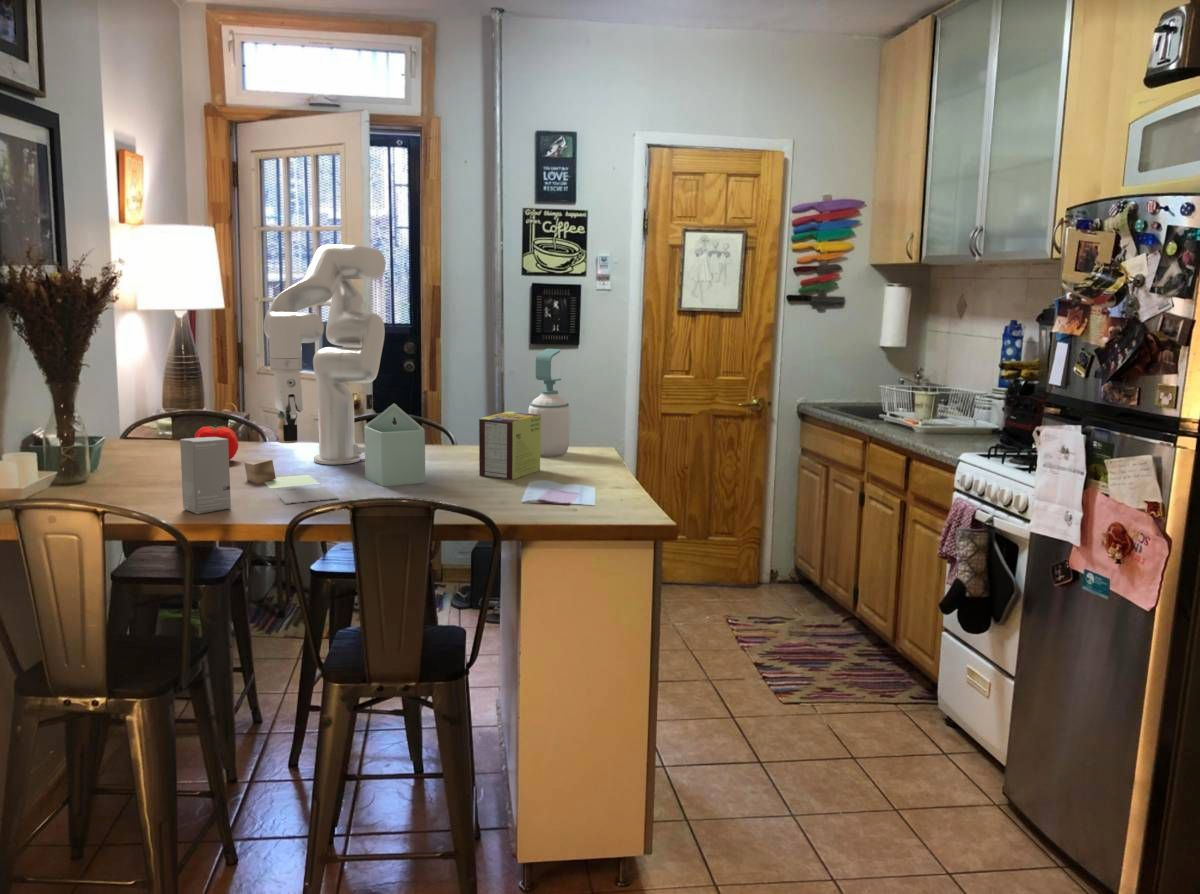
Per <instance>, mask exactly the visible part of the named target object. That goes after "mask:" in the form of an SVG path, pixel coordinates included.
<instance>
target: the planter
mask: <svg viewBox="0 0 1200 894" xmlns="http://www.w3.org/2000/svg"><path fill="white" fill-rule="evenodd" d="M394 421H395V422H396V424H394V423H393V422H394ZM364 446H365V453H364V469H365V470H364V473H365V474H364V475H365V476H364V477H365V479H366V480H368V481H370V482H372V483H375V484H376V485H378V486H380V487H393V486H394V487H395V486H405V485H412V484H413V485H414V484H425V483H426V431H425V428H424V427H423V426H422V425H420V424H419V423H418V422H417V421H416V420H415V419H414V418H412V416H410V415H408V414H407V413H406V412H405V411H404V410H403V409H402V408H400V407H399V406H398V405H397V404H396V403H392V404H391V405H390V406H388V407H387V408H386V409H384V410H383V412H381V413H380V414H378V415H377V416H375V418H373V419H372V420H370V421H369V422H367V423H366V424H365V425H364Z"/></svg>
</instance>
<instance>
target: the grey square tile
mask: <svg viewBox="0 0 1200 894" xmlns="http://www.w3.org/2000/svg"><path fill="white" fill-rule="evenodd" d="M274 494H275V495H276V496H277V497H278V498H280V499H281V500H282V501H283V502H284V503H285V504H286V505H292V504H291V503H296V504H303V503H302V502H306V503H309V502H308V501H316V502H321V501H320V500H327V501H330V500H329V499H337V500H339V497H338V496H337V495H335V494H334V493H333V492H332V491H330V490H329V489H328V488H326V486H325V487H323V486H322V487H314V488H302V489H293V490H292V489H291V490H290V489H289V490H278V491H274ZM280 499H279V500H280ZM281 500H280V501H281ZM282 501H281V502H282ZM283 502H282V503H283ZM284 503H283V504H284ZM285 504H284V505H285Z"/></svg>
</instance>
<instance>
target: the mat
mask: <svg viewBox="0 0 1200 894" xmlns="http://www.w3.org/2000/svg"><path fill="white" fill-rule="evenodd" d="M275 477H276V476H275ZM263 483H264V484H265V485H266V486H267V487H268V488H269V489H282V488H292V487H293V488H295V487H302V486H304V487H305V486H306V487H307V486H314V485H315V486H317V485H321V483H320V482H319V481H317V480H316V479H315V478H314V477H312V476H311V475H309V474H300V475H288V476H278V477H276V479H274V480H271V481H267V482H263Z"/></svg>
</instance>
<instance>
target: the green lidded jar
mask: <svg viewBox="0 0 1200 894" xmlns="http://www.w3.org/2000/svg"><path fill="white" fill-rule="evenodd" d="M287 416H288V415H287ZM296 417H297V418H298V414H297V415H296ZM277 423H278V424H277V426H278V431H277V432H278V443H280V444H294V443H298V439H297V441H284V437H283V425H285V424H284V413H279V412H278V413H277Z"/></svg>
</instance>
